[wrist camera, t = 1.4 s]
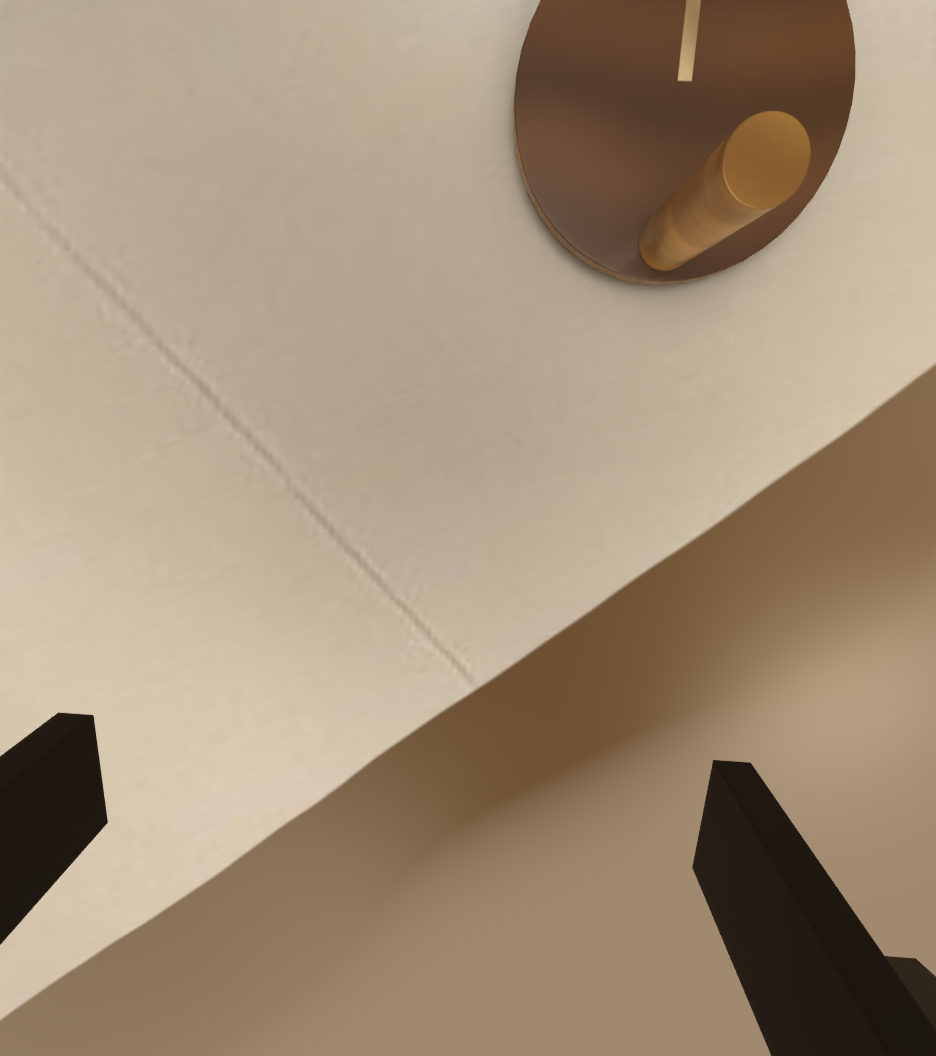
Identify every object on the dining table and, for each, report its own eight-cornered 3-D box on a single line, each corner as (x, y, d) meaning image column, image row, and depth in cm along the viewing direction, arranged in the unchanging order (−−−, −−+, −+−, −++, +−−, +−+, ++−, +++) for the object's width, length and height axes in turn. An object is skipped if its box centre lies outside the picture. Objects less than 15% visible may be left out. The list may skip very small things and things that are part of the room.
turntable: (522, -92, 27) (547, -462, 15) (873, -90, 26) (1182, -470, 15) (505, 281, 31) (515, 219, 20) (807, 289, 31) (1004, 230, 19)
